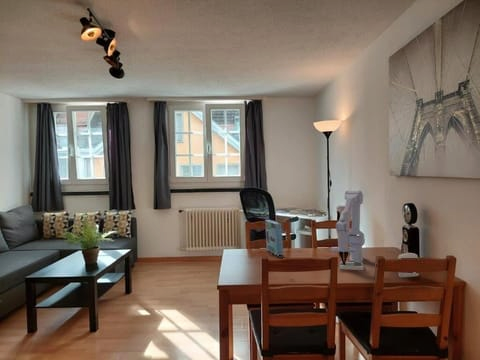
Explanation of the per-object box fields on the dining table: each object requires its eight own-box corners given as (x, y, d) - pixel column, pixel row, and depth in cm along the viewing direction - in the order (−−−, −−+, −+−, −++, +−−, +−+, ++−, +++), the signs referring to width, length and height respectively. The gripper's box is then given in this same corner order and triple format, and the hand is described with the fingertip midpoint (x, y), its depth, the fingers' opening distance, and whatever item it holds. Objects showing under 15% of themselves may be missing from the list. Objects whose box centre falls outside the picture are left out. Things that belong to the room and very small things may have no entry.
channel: (340, 265, 204) (339, 261, 204) (362, 265, 200) (362, 262, 200) (339, 269, 196) (339, 265, 196) (363, 270, 192) (363, 266, 192)
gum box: (283, 256, 231) (281, 223, 231) (276, 257, 230) (275, 223, 229) (272, 250, 250) (271, 219, 249) (266, 250, 248) (264, 220, 248)
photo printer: (401, 278, 176) (400, 254, 175) (397, 275, 180) (396, 252, 180) (420, 276, 177) (419, 253, 176) (415, 274, 181) (414, 251, 181)
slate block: (354, 266, 200) (353, 260, 199) (361, 267, 198) (360, 260, 198) (354, 268, 196) (354, 262, 196) (361, 269, 195) (361, 262, 194)
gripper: (330, 242, 197) (331, 265, 198) (356, 243, 193) (357, 266, 193) (330, 240, 204) (331, 262, 204) (355, 240, 200) (356, 263, 200)
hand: (344, 264), depth 199 cm, fingers closed
